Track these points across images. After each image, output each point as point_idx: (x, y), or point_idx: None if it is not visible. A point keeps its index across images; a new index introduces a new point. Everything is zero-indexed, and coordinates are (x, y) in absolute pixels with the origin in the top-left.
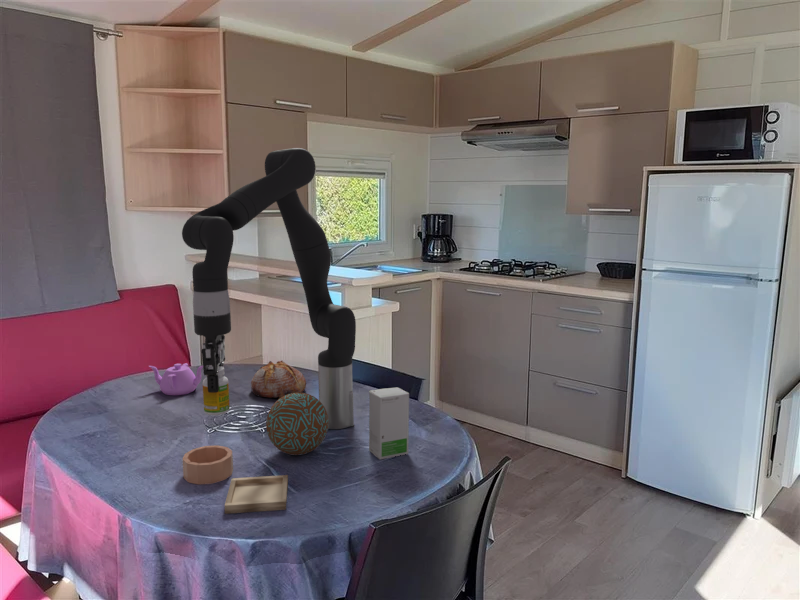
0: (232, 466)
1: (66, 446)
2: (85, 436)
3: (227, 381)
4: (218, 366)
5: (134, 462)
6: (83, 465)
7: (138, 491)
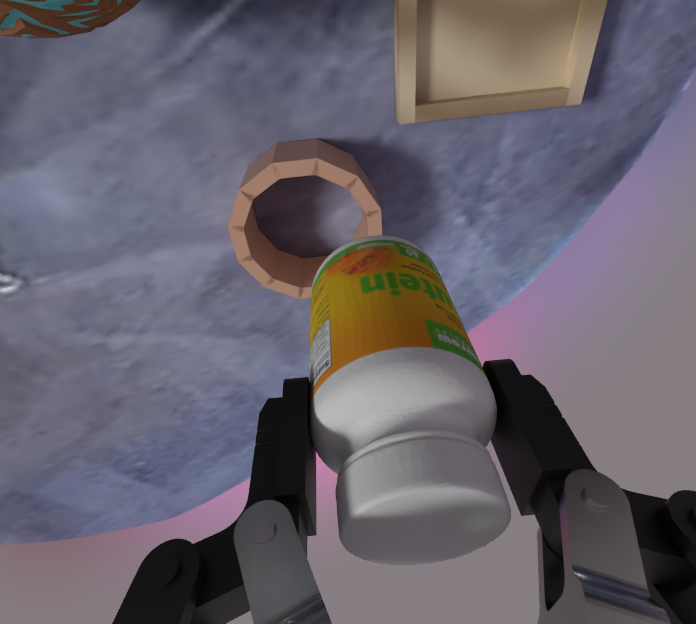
0: (290, 146)
1: (201, 481)
2: (150, 476)
3: (422, 361)
4: (576, 555)
5: (255, 377)
6: None
7: None
